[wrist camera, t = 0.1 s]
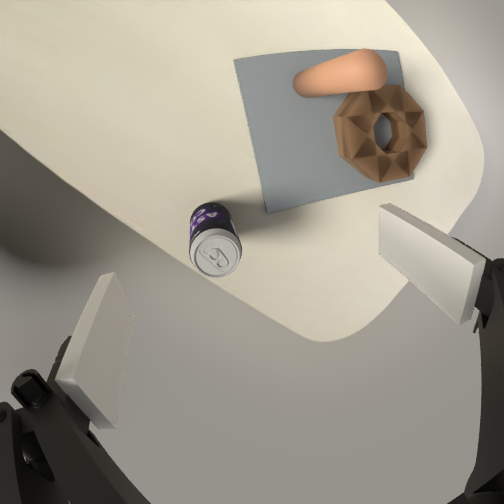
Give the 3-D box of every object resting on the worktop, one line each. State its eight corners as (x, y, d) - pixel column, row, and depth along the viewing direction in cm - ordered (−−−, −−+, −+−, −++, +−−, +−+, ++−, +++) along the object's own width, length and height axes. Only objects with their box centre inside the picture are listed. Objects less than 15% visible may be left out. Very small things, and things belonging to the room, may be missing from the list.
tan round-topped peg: (290, 72, 34) (346, 48, 20) (317, 69, 34) (382, 49, 20) (295, 99, 36) (354, 91, 22) (322, 96, 36) (390, 89, 22)
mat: (233, 60, 33) (233, 59, 32) (395, 51, 35) (397, 51, 34) (266, 212, 43) (267, 213, 42) (411, 178, 44) (413, 179, 44)
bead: (327, 89, 36) (340, 86, 32) (403, 85, 37) (419, 85, 33) (342, 182, 42) (355, 188, 38) (412, 168, 43) (428, 173, 39)
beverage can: (215, 192, 40) (223, 220, 29) (238, 224, 43) (254, 261, 32) (182, 216, 41) (178, 252, 30) (206, 246, 43) (210, 290, 32)
